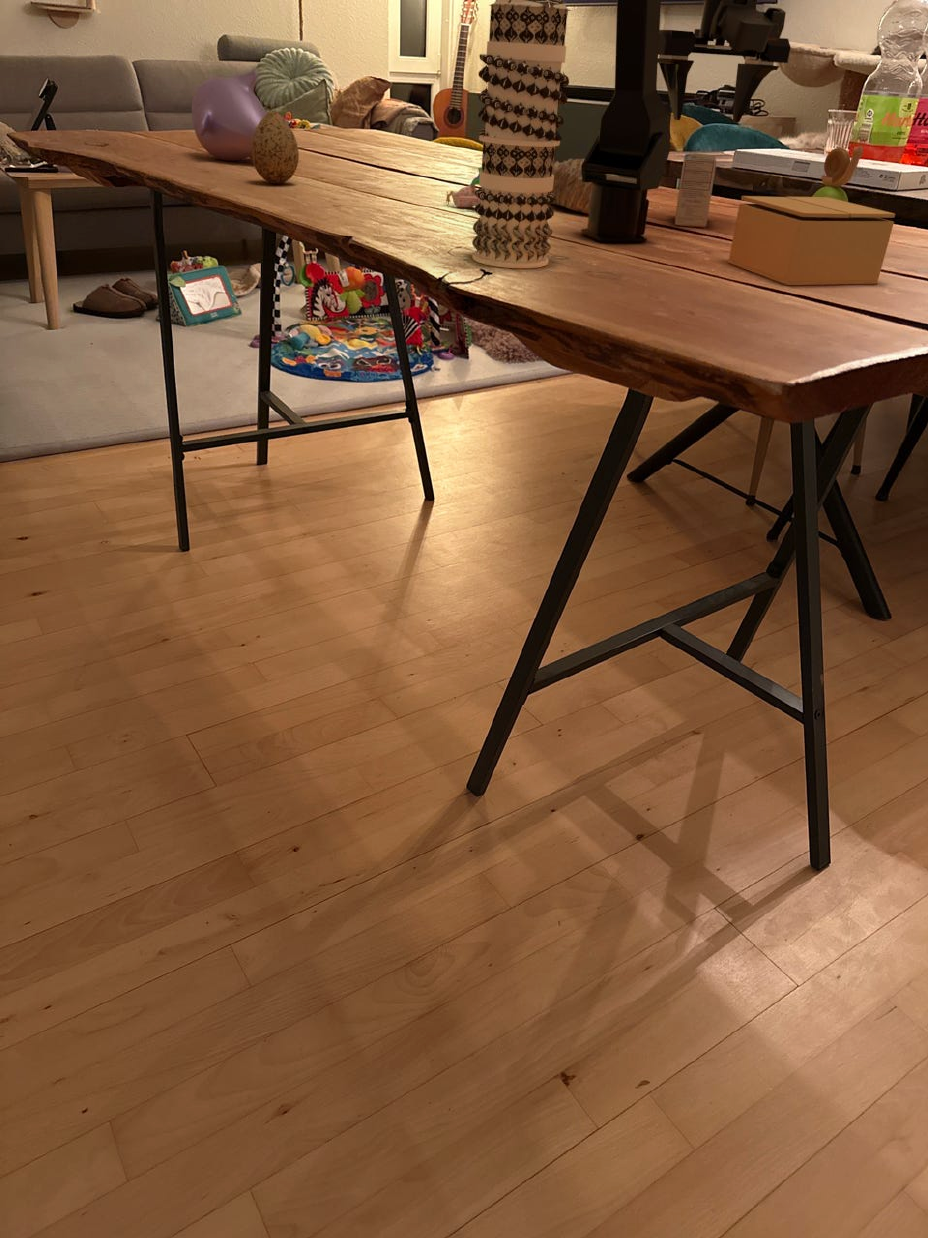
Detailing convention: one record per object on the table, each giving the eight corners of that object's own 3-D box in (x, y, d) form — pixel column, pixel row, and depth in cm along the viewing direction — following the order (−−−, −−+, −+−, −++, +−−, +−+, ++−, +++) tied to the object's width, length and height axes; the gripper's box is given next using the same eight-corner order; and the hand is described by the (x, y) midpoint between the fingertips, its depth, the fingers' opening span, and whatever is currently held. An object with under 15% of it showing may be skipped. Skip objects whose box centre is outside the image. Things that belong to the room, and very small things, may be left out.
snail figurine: (829, 230, 135) (851, 137, 129) (796, 222, 140) (817, 132, 134) (855, 229, 138) (879, 138, 131) (823, 221, 142) (844, 133, 136)
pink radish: (438, 215, 135) (512, 213, 125) (435, 170, 133) (511, 163, 123) (469, 213, 139) (544, 210, 129) (467, 168, 137) (543, 162, 126)
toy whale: (217, 155, 178) (243, 68, 172) (296, 196, 166) (327, 104, 160) (156, 129, 167) (182, 35, 161) (236, 170, 155) (267, 71, 149)
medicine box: (705, 228, 130) (717, 159, 126) (673, 225, 131) (684, 157, 126) (704, 220, 137) (716, 154, 132) (674, 217, 138) (684, 152, 133)
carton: (787, 285, 100) (803, 212, 96) (728, 262, 109) (740, 195, 105) (877, 283, 103) (896, 213, 99) (812, 261, 113) (827, 196, 109)
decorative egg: (254, 186, 142) (249, 111, 136) (251, 179, 148) (247, 108, 142) (301, 187, 143) (299, 113, 138) (297, 181, 149) (295, 110, 144)
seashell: (648, 194, 136) (622, 128, 130) (606, 234, 134) (577, 168, 128) (584, 199, 147) (557, 139, 141) (544, 236, 145) (515, 176, 139)
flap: (802, 216, 96) (803, 212, 96) (740, 199, 106) (741, 195, 105) (848, 217, 98) (849, 213, 98) (783, 200, 107) (784, 196, 107)
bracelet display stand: (455, 252, 105) (468, -15, 92) (528, 251, 108) (550, -8, 95) (489, 269, 98) (508, -17, 85) (566, 267, 101) (595, -9, 88)
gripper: (698, -26, 110) (675, 123, 118) (830, -14, 115) (799, 128, 123) (653, -23, 119) (635, 116, 127) (778, -11, 124) (752, 121, 132)
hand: (706, 120), depth 127 cm, fingers open, 9 cm apart
